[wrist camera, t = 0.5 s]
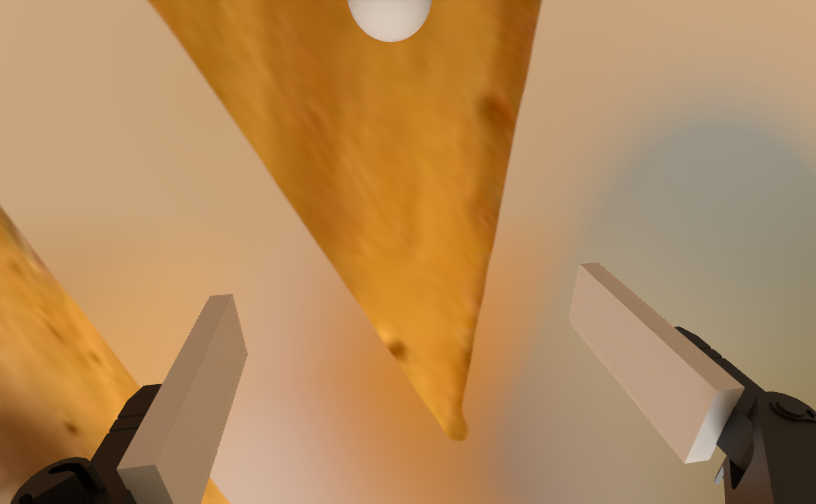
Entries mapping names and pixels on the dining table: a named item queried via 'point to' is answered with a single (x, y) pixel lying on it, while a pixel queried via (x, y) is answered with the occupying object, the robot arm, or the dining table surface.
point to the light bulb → (390, 17)
